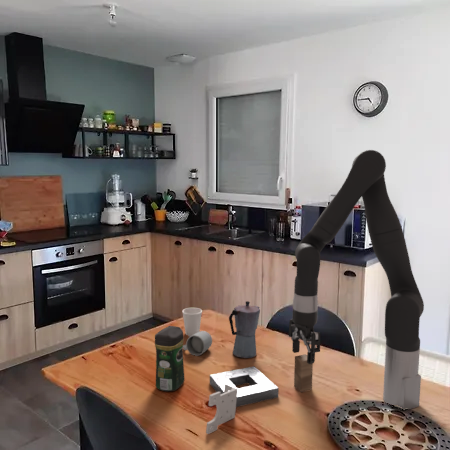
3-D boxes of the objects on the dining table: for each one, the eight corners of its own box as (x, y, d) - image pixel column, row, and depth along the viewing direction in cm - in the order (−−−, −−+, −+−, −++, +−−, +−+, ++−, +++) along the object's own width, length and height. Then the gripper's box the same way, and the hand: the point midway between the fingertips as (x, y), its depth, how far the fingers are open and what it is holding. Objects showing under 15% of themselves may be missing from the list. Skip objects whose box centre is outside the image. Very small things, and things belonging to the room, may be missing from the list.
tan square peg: (311, 389, 139) (312, 359, 138) (301, 392, 137) (301, 361, 136) (304, 384, 143) (305, 354, 141) (294, 386, 141) (294, 356, 140)
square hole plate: (278, 397, 134) (278, 388, 134) (229, 408, 128) (229, 398, 128) (254, 374, 149) (254, 366, 148) (209, 383, 143) (209, 374, 142)
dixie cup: (194, 339, 180) (194, 315, 178) (178, 334, 184) (177, 311, 183) (206, 332, 186) (206, 309, 185) (190, 328, 191) (190, 306, 190)
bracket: (222, 415, 126) (225, 380, 126) (234, 421, 124) (237, 385, 123) (195, 427, 118) (199, 390, 117) (208, 434, 115) (211, 396, 115)
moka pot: (267, 351, 167) (268, 300, 165) (240, 365, 156) (240, 309, 154) (247, 345, 174) (248, 295, 171) (220, 357, 163) (220, 304, 160)
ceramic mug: (213, 349, 170) (213, 329, 169) (204, 357, 162) (203, 337, 161) (189, 345, 174) (188, 326, 173) (178, 353, 166) (178, 333, 165)
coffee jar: (165, 376, 147) (165, 322, 145) (187, 380, 145) (187, 325, 142) (151, 390, 138) (150, 332, 136) (174, 394, 136) (173, 336, 133)
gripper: (329, 313, 132) (326, 365, 134) (303, 299, 145) (301, 347, 147) (307, 316, 129) (305, 369, 131) (282, 302, 142) (281, 350, 144)
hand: (303, 357), depth 139 cm, fingers open, 8 cm apart
